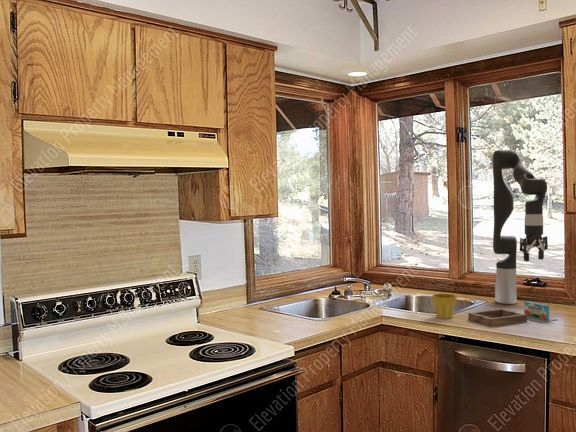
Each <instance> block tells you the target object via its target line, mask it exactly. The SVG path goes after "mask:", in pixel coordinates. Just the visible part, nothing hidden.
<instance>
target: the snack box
mask: <svg viewBox="0 0 576 432" xmlns="http://www.w3.org/2000/svg"><path fill="white" fill-rule="evenodd" d="M523 306H524V308H523V311H524V313H523V314H527V316H530V317H534V318H538V319H542V320H549V318H550V306H549V304H542V303H538V302H532V301H529V300H528V301H523Z"/></svg>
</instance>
